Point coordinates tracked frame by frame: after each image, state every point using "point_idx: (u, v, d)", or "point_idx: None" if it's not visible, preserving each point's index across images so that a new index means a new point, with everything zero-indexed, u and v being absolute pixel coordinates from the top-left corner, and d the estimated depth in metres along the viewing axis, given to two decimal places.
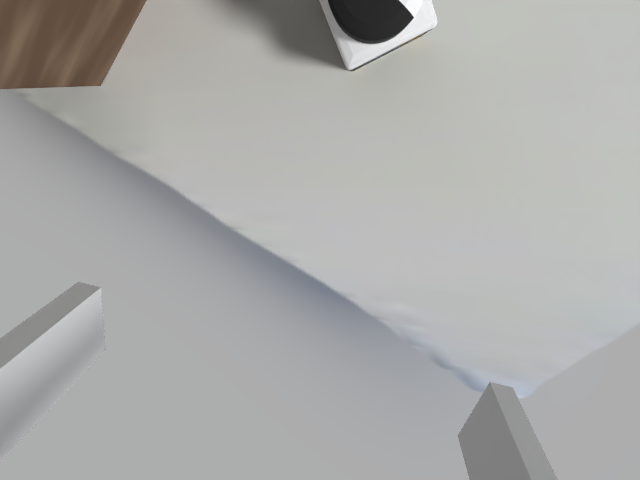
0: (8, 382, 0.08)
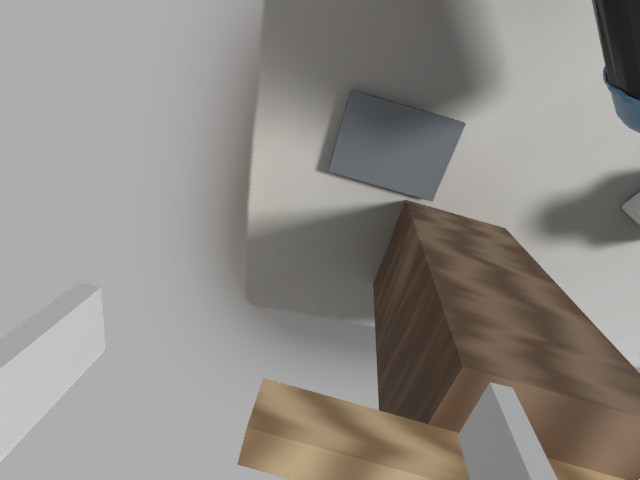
0: (8, 383, 0.08)
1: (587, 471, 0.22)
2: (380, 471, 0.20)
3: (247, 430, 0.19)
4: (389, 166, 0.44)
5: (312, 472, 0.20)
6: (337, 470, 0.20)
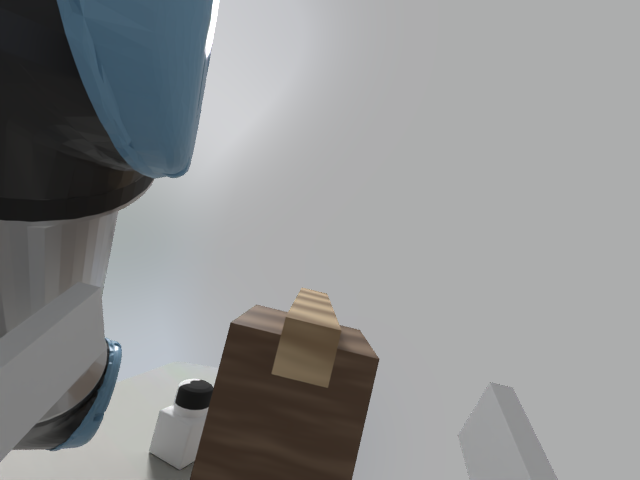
0: (8, 383, 0.08)
1: None
2: (299, 303, 0.29)
3: (289, 317, 0.21)
4: None
5: (321, 315, 0.26)
6: (311, 310, 0.27)
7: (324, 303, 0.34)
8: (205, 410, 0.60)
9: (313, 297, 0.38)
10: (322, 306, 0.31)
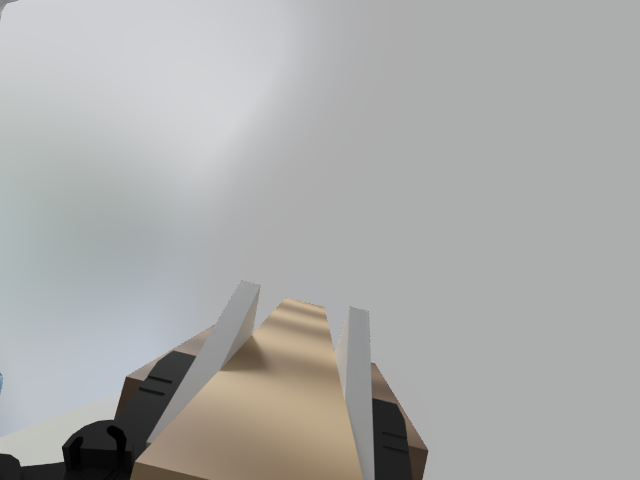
0: None
1: None
2: (258, 345, 0.13)
3: (153, 462, 0.05)
4: None
5: (301, 391, 0.09)
6: (279, 370, 0.11)
7: (317, 333, 0.18)
8: None
9: (299, 318, 0.21)
10: (311, 344, 0.15)
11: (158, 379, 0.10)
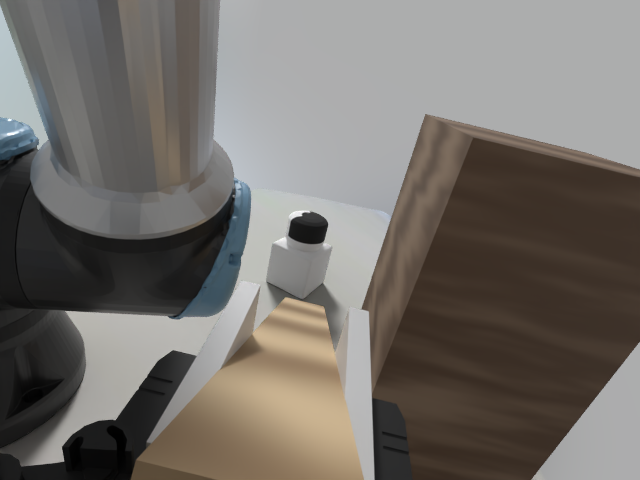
0: None
1: None
2: (258, 344, 0.13)
3: (155, 461, 0.05)
4: None
5: (302, 390, 0.09)
6: (279, 369, 0.11)
7: (317, 332, 0.18)
8: (321, 244, 0.53)
9: (298, 317, 0.21)
10: (311, 344, 0.15)
11: (158, 379, 0.10)
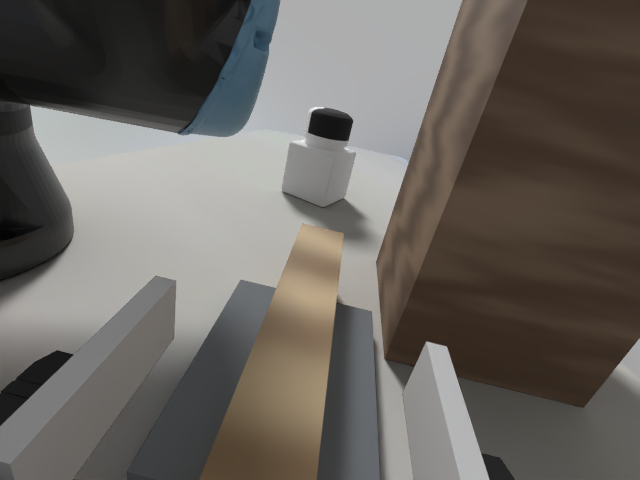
0: (116, 362, 0.10)
1: None
2: (239, 419, 0.12)
3: None
4: None
5: None
6: None
7: (317, 337, 0.17)
8: (345, 143, 0.47)
9: (305, 294, 0.20)
10: (303, 383, 0.14)
11: (27, 382, 0.09)
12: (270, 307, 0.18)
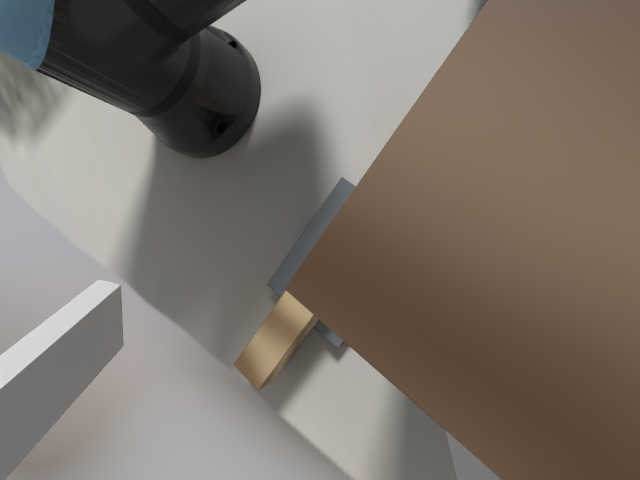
0: (38, 375, 0.09)
1: None
2: (281, 306, 0.33)
3: (235, 365, 0.35)
4: None
5: (273, 347, 0.33)
6: (275, 331, 0.33)
7: None
8: None
9: None
10: None
11: None
12: None
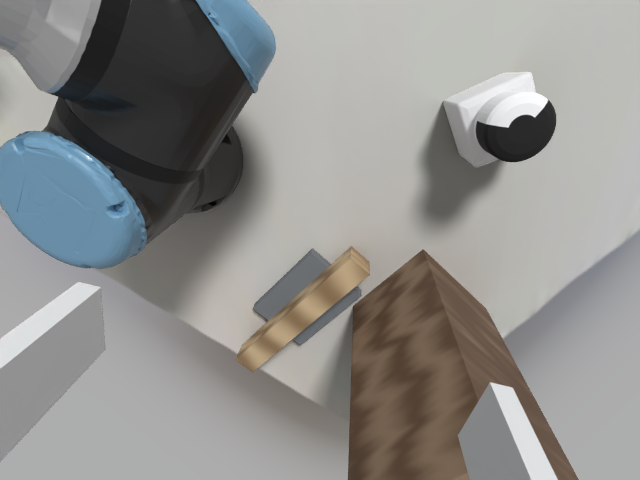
0: (8, 383, 0.08)
1: (330, 266, 0.50)
2: (268, 335, 0.53)
3: (237, 360, 0.55)
4: None
5: (263, 354, 0.54)
6: (264, 346, 0.54)
7: (301, 325, 0.51)
8: None
9: (311, 307, 0.50)
10: (287, 334, 0.52)
11: None
12: (294, 308, 0.50)
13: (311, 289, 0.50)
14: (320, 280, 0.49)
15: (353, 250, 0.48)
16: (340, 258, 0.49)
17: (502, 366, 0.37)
